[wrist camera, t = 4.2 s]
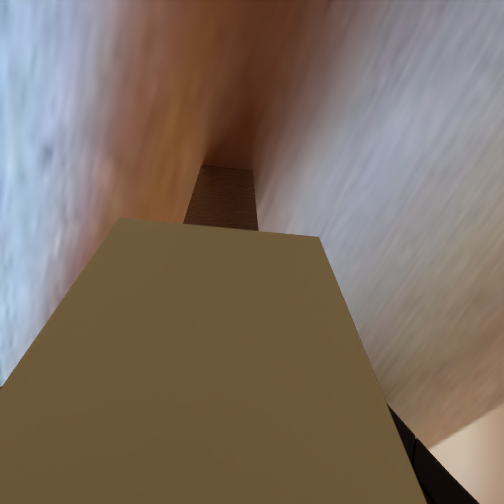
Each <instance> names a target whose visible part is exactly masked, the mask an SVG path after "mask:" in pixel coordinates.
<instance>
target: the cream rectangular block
mask: <svg viewBox="0 0 504 504" xmlns="http://www.w3.org/2000/svg"><path fill="white" fill-rule="evenodd" d="M0 504H427V502H426V500H425V498H424V495H423V493H422V490H421V488H420V485H419V483H418V480H417V478H416V475H415V473H414V470H413V468H412V466H411V463H410V461H409V458H408V456H407V453H406V451H405V448H404V446H403V443H402V441H401V438H400V436H399V434H398V431H397V429H396V426H395V424H394V421H393V419H392V416H391V414H390V411H389V409H388V406H387V404H386V402H385V399H384V397H383V394H382V392H381V389H380V387H379V384H378V382H377V379H376V377H375V374H374V372H373V370H372V367H371V365H370V362H369V360H368V357H367V355H366V352H365V350H364V347H363V345H362V342H361V340H360V337H359V335H358V333H357V330H356V328H355V325H354V323H353V320H352V318H351V315H350V313H349V310H348V308H347V305H346V303H345V301H344V298H343V296H342V293H341V291H340V288H339V286H338V283H337V281H336V278H335V276H334V273H333V271H332V269H331V266H330V264H329V261H328V259H327V256H326V254H325V251H324V249H323V246H322V244H321V241H320V239H319V237H313V236H303V235H293V234H283V233H272V232H262V231H252V230H242V229H231V228H221V227H211V226H201V225H191V224H180V223H170V222H160V221H150V220H139V219H129V218H119V219H118V221H117V222H116V223H115V225H114V226H113V228H112V229H111V231H110V232H109V234H108V235H107V236H106V238H105V239H104V241H103V242H102V244H101V245H100V246H99V248H98V249H97V251H96V252H95V254H94V255H93V257H92V258H91V259H90V261H89V262H88V264H87V265H86V267H85V268H84V270H83V271H82V272H81V274H80V275H79V277H78V278H77V280H76V281H75V282H74V284H73V285H72V287H71V288H70V290H69V291H68V293H67V294H66V295H65V297H64V298H63V300H62V301H61V303H60V304H59V305H58V307H57V308H56V310H55V311H54V313H53V314H52V316H51V317H50V318H49V320H48V321H47V323H46V324H45V326H44V327H43V328H42V330H41V331H40V333H39V334H38V336H37V337H36V339H35V340H34V341H33V343H32V344H31V346H30V347H29V349H28V350H27V352H26V353H25V354H24V356H23V357H22V359H21V360H20V362H19V363H18V364H17V366H16V367H15V369H14V370H13V372H12V373H11V375H10V376H9V377H8V379H7V380H6V382H5V383H4V385H3V386H2V387H1V389H0Z"/></svg>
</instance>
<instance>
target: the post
mask: <svg viewBox="0 0 504 504" xmlns="http://www.w3.org/2000/svg"><path fill="white" fill-rule="evenodd" d="M183 224H191V225H201V226H211V227H221V228H231V229H242V230H252V231H258V221H257V211H256V201H255V191H254V181H253V171H245V170H236V169H227V168H219V167H210V166H201V168H200V171H199V175H198V178H197V181H196V184H195V187H194V191H193V194H192V197H191V200H190V203H189V206H188V210H187V213H186V216H185V219H184V222H183Z"/></svg>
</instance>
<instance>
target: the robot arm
mask: <svg viewBox="0 0 504 504" xmlns="http://www.w3.org/2000/svg"><path fill="white" fill-rule="evenodd" d="M1 387H2V386H1ZM1 387H0V389H1ZM386 404H387V403H386ZM387 406H388V409H389V411H390V414H391V416H392V419H393V421H394V424H395V426H396V429H397V431H398V434H399V436H400V438H401V441H402V443H403V446H404V448H405V451H406V453H407V456H408V458H409V461H410V463H411V466H412V468H413V470H414V473H415V475H416V478H417V480H418V483H419V485H420V488H421V490H422V493H423V495H424V498H425V500H426V502H427V504H479V503H478V502H477V501H476V500H475V499H474V498H473V497H472V496H471V495H470V494H469V493H468V492H467V491H466V490H465V489H464V488H463V487H462V486H461V485H460V484H459V483H458V481H457V480H455V478H453V476H451V474H449V472H448V471H447V470H446V469H445V468H444V467H443V466H442V465H441V464H440V462H439V461H437V459H436V458H435V457H434V456H433V455H432V454H431V453H430V452H429V450H428V449H427V448H426V447H425V446H424V445H423V444H422V443H421V441H420V440H419V439H418V438H415V435H414V434H413V433H412V431H411V430H410V429H409V428H408V427H407V426H406V425H405V423H404V422H403V421H402V420H401V419H400V418H399V417H398V416H397V414H396V413H395V412H394V411H393V410H392V409H391V408H390V407H389V405H388V404H387Z"/></svg>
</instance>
